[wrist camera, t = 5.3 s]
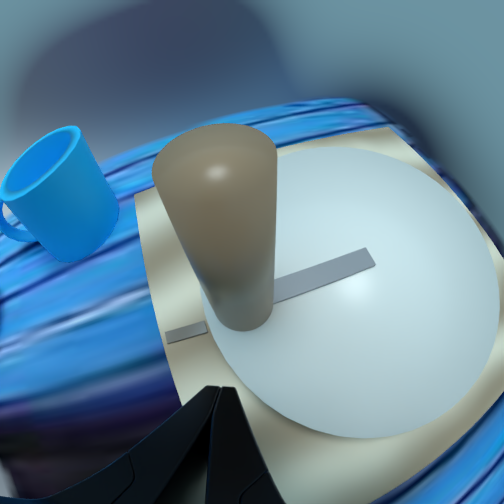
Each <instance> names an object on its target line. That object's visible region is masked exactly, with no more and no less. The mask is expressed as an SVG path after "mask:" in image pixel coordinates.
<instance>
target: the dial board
mask: <svg viewBox="0 0 504 504" xmlns="http://www.w3.org/2000/svg"><path fill="white" fill-rule="evenodd" d="M318 147H350V148H358V149H364V150H369V151H373V152H377V153H381V154H384V155H387V156H390V157H393V158H395V159H398V160H400V161H402V162H405V163H407V164H409V165H411V166H413V167H414V168H416V169H418V170H420V171H422V172H423V173H425V174H426V175H428V176H429V177H431V178H432V179H434V180H435V181H436V182H438V183H439V184H440V185H441V186H442V187H444V188H445V189H446V190H447V191H448V192H449V193H450V194H451V195H452V196H453V197H454V198H455V199H456V200H457V201H458V202H459V203H460V204H461V205H462V206H463V208H464V209H465V210H466V211H467V213H468V214H469V215H470V217H471V218H472V219H473V221H474V222H475V224H476V226H477V227H478V229H479V230H480V232H481V234H482V236H483V238H484V240H485V242H486V244H487V247H488V249H489V252H490V254H491V257H492V260H493V263H494V267H495V270H496V274H497V280H498V287H499V300H500V311H499V323H498V329H497V334H496V338H495V342H494V346H493V348H492V351H491V354H490V356H489V359H488V362H487V363H486V365H485V367H484V369H483V371H482V373H481V374H480V376H479V378H478V379H477V381H476V382H475V383H474V385H473V386H472V387H471V389H470V390H469V391H468V393H467V394H466V395H465V396H464V397H463V398H462V399H461V400H460V401H459V402H458V403H457V404H456V405H454V406H453V407H452V408H451V409H450V410H448V411H447V412H446V413H444V414H443V415H441V416H440V417H438V418H437V419H435V420H434V421H432V422H430V423H428V424H425V425H423V426H421V427H419V428H417V429H414V430H412V431H408V432H405V433H401V434H397V435H393V436H388V437H378V438H352V437H341V436H336V435H332V434H328V433H324V432H320V431H317V430H313V429H311V428H308V427H306V426H304V425H302V424H300V423H297V422H295V421H293V420H291V419H289V418H287V417H285V416H283V415H282V414H280V413H279V412H277V411H276V410H274V409H273V408H271V407H270V406H268V405H267V404H265V403H264V402H263V401H262V400H261V399H260V398H259V397H257V396H256V395H255V394H254V393H253V392H252V391H251V390H250V389H249V388H248V387H247V386H246V385H245V384H244V383H243V382H242V381H241V379H240V378H239V377H238V376H237V374H236V373H235V372H234V370H233V369H232V368H231V367H230V365H229V364H228V363H227V361H226V360H225V358H224V356H223V354H222V353H221V351H220V349H219V347H218V345H217V344H216V342H215V340H214V338H213V335H212V333H211V330H210V327H209V325H208V322H207V319H206V316H205V313H204V308H203V303H202V298H201V293H200V283H199V281H198V279H197V277H196V275H195V273H194V271H193V269H192V267H191V265H190V262H189V260H188V258H187V256H186V254H185V252H184V250H183V248H182V245H181V243H180V241H179V239H178V237H177V234H176V232H175V230H174V228H173V226H172V223H171V221H170V219H169V216H168V214H167V212H166V210H165V207H164V205H163V203H162V200H161V198H160V196H159V193H158V191H157V188H156V187H153V188H150V189H148V190H145V191H143V192H140V193H137V194H135V195H134V198H135V206H136V214H137V221H138V228H139V234H140V240H141V246H142V252H143V258H144V263H145V268H146V274H147V279H148V283H149V288H150V293H151V297H152V302H153V306H154V310H155V314H156V319H157V323H158V327H159V330H160V334H161V338H162V342H163V345H164V349H165V352H166V356H167V359H168V363H169V366H170V369H171V373H172V376H173V379H174V382H175V385H176V388H177V391H178V394H179V397H180V400H181V403H182V406H183V405H184V404H186V403H187V402H188V401H189V400H190V399H191V398H192V397H194V396H195V395H196V394H197V393H198V392H199V391H200V390H201V389H202V388H204V387H205V386H206V385H213V386H220V387H222V386H230V387H235V388H236V390H237V392H238V395H239V398H240V400H241V403H242V406H243V408H244V411H245V413H246V416H247V418H248V421H249V424H250V426H251V429H252V431H253V434H254V436H255V438H256V441H257V443H258V446H259V448H260V451H261V453H262V455H263V458H264V460H265V462H266V465H267V467H268V469H269V472H270V473H271V476H272V478H273V480H274V482H275V484H276V486H277V488H278V490H279V492H280V494H281V496H282V498H283V499H284V501H285V503H286V504H369V503H371V502H372V501H374V500H376V499H378V498H379V497H381V496H383V495H384V494H386V493H388V492H389V491H391V490H393V489H394V488H396V487H397V486H399V485H400V484H402V483H403V482H405V481H406V480H408V479H409V478H411V477H412V476H414V475H415V474H416V473H418V472H419V471H420V470H422V469H423V468H424V467H426V466H427V465H428V464H430V463H431V462H432V461H434V460H435V459H436V458H437V457H439V456H440V455H441V454H442V453H443V452H445V451H446V450H447V449H448V448H449V447H450V446H451V445H453V444H454V443H455V442H456V441H457V440H458V439H459V438H460V437H461V436H462V435H464V434H465V433H466V432H467V431H468V430H469V429H470V428H471V427H472V426H473V425H474V424H475V423H476V422H477V421H478V420H479V419H480V418H481V416H482V415H483V414H484V413H485V412H486V411H487V410H488V409H489V408H490V407H491V405H492V404H493V403H494V402H495V401H496V400H497V399H498V397H499V396H500V395H501V394H502V393H503V391H504V259H503V258H502V256H501V255H500V253H499V252H498V250H497V248H496V247H495V245H494V244H493V243H492V241H491V240H490V238H489V237H488V235H487V234H486V232H485V231H484V230H483V228H482V227H481V226H480V224H479V223H478V222H477V220H476V219H475V218H474V216H473V215H472V214H471V212H470V211H469V210H468V209H467V207H466V206H465V205H464V204H463V203H462V201H461V200H460V199H459V198H458V197H457V195H456V194H455V193H454V192H453V191H452V190H451V188H450V187H449V186H448V185H447V184H446V183H445V182H444V181H443V180H442V178H441V177H440V176H439V175H438V174H437V173H436V172H435V171H434V170H433V169H432V168H431V167H430V166H429V165H428V164H427V163H426V162H425V161H424V160H423V159H422V158H421V157H420V156H419V155H418V154H417V153H416V152H415V151H414V150H413V149H412V148H411V147H410V146H409V145H408V144H407V143H406V142H404V141H403V140H402V139H401V138H400V137H399V136H398V135H397V134H396V133H394V132H393V131H392V130H391V129H390V128H389V127H385V128H378V129H372V130H366V131H360V132H354V133H348V134H343V135H337V136H332V137H327V138H322V139H318V140H313V141H308V142H304V143H299V144H295V145H291V146H287V147H283V148H279V149H276V150H277V156H278V157H281V156H283V155H286V154H289V153H292V152H296V151H300V150H305V149H311V148H318Z"/></svg>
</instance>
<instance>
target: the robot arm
mask: <svg viewBox="0 0 504 504" xmlns="http://www.w3.org/2000/svg"><path fill="white" fill-rule="evenodd" d="M128 452H129V453H128ZM128 452H126V453H125V454H123V455H122V456H121V457H120V458H118V459H117V460H115V461H114V462H113V463H111V464H110V465H108V466H107V467H105V468H104V469H102V470H101V471H99V472H97V473H96V474H94V475H92V476H90V477H89V478H87V479H85V480H83V481H81V482H79V483H77V484H75V485H73V486H71V487H69V488H67V489H65V490H63V491H61V492H58V493H56V494H54V495H51V496H49V497H45V498H40V499H19V498H10V497H3V496H0V504H286V503H285V501H284V499H283V498H282V496H281V494H280V492H279V490H278V488H277V486H276V484H275V482H274V480H273V478H272V476H271V473H270V472H269V469H268V467H267V465H266V462H265V460H264V458H263V455H262V453H261V451H260V448H259V446H258V443H257V441H256V438H255V436H254V434H253V431H252V429H251V426H250V424H249V421H248V418H247V416H246V413H245V411H244V408H243V406H242V403H241V400H240V398H239V395H238V392H237V390H236V388H235V387H230V386H222V387H220V386H213V385H206V386H205V387H204V388H202V389H201V390H200V391H199V392H198V393H197V394H196V395H195V396H194V397H192V398H191V399H190V400H189V401H188V402H187V403H186V404H184V405H183V406H182V407H181V408H180V409H179V410H178V411H176V412H175V413H174V414H173V415H172V416H171V417H169V418H168V419H167V420H166V421H165V422H163V423H162V424H161V425H160V426H159V427H157V428H156V429H155V430H154V431H153V432H151V433H150V434H149V435H148V436H146V437H145V438H144V439H143V440H141V441H140V442H139V443H138V444H136V445H135V446H134V447H133V448H131V449H130V450H129V451H128Z"/></svg>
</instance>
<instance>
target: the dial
mask: <svg viewBox="0 0 504 504" xmlns="http://www.w3.org/2000/svg"><path fill="white" fill-rule="evenodd" d="M152 178H153V181H154V184H155V186H156V188H157V191H158V193H159V196H160V198H161V200H162V203H163V205H164V207H165V210H166V212H167V214H168V216H169V219H170V221H171V223H172V226H173V228H174V230H175V232H176V234H177V237H178V239H179V241H180V243H181V245H182V248H183V250H184V252H185V254H186V256H187V258H188V260H189V262H190V265H191V267H192V269H193V271H194V273H195V275H196V277H197V279H198V281H199V283H200V293H201V298H202V303H203V308H204V313H205V316H206V319H207V322H208V325H209V327H210V330H211V333H212V335H213V338H214V340H215V342H216V344H217V345H218V347H219V349H220V351H221V353H222V354H223V356H224V358H225V360H226V361H227V363H228V364H229V365H230V367H231V368H232V369H233V370H234V372H235V373H236V374H237V376H238V377H239V378H240V379H241V381H242V382H243V383H244V384H245V385H246V386H247V387H248V388H249V389H250V390H251V391H252V392H253V393H254V394H255V395H256V396H257V397H259V398H260V399H261V400H262V401H263V402H264V403H265V404H267V405H268V406H270V407H271V408H273V409H274V410H276V411H277V412H279V413H280V414H282V415H283V416H285V417H287V418H289V419H291V420H293V421H295V422H297V423H300V424H302V425H304V426H306V427H308V428H311V429H313V430H317V431H320V432H324V433H328V434H332V435H336V436H341V437H352V438H378V437H388V436H393V435H397V434H401V433H405V432H408V431H412V430H414V429H417V428H419V427H421V426H423V425H425V424H428V423H430V422H432V421H434V420H435V419H437V418H438V417H440V416H441V415H443V414H444V413H446V412H447V411H448V410H450V409H451V408H452V407H453V406H454V405H456V404H457V403H458V402H459V401H460V400H461V399H462V398H463V397H464V396H465V395H466V394H467V393H468V391H469V390H470V389H471V387H472V386H473V385H474V383H475V382H476V381H477V379H478V378H479V376H480V374H481V373H482V371H483V369H484V367H485V365H486V363H487V362H488V359H489V356H490V354H491V351H492V348H493V346H494V342H495V338H496V334H497V329H498V323H499V311H500V300H499V287H498V280H497V274H496V270H495V267H494V263H493V260H492V257H491V254H490V252H489V249H488V247H487V244H486V242H485V240H484V238H483V236H482V234H481V232H480V230H479V229H478V227H477V226H476V224H475V222H474V221H473V219H472V218H471V217H470V215H469V214H468V213H467V211H466V210H465V209H464V208H463V206H462V205H461V204H460V203H459V202H458V201H457V200H456V199H455V198H454V197H453V196H452V195H451V194H450V193H449V192H448V191H447V190H446V189H445V188H444V187H442V186H441V185H440V184H439V183H438V182H436V181H435V180H434V179H432V178H431V177H429V176H428V175H426V174H425V173H423V172H422V171H420V170H418V169H416V168H414V167H413V166H411V165H409V164H407V163H405V162H402V161H400V160H398V159H395V158H393V157H390V156H387V155H384V154H381V153H377V152H373V151H369V150H364V149H358V148H350V147H318V148H311V149H305V150H300V151H296V152H292V153H289V154H286V155H283V156H281V157H278V156H277V150H276V147H275V145H274V143H273V141H272V140H271V139H270V138H269V137H268V136H267V135H266V134H264V133H263V132H261V131H259V130H257V129H255V128H252V127H249V126H245V125H240V124H230V123H222V124H212V125H207V126H202V127H199V128H195V129H193V130H190V131H188V132H185V133H183V134H181V135H180V136H178V137H176V138H175V139H173V140H172V141H170V142H169V143H168V144H167V145H166V146H165V147H164V148H163V149H162V150H161V151H160V152H159V154H158V155H157V157H156V159H155V161H154V163H153V167H152Z"/></svg>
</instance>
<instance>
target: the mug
mask: <svg viewBox="0 0 504 504" xmlns="http://www.w3.org/2000/svg"><path fill="white" fill-rule="evenodd" d="M3 203H5V204H6V205H7V207H8V208H9V209H10V210H11V211H12V213H13V214H14V215H15V216H16V217H17V218H18V220H19V221H20V222H21V223H22V224H23V225H24V226H25V227H26V229H27V230H28V231H24V230H20V229H17V228H14V227H13V226H11V225H10V224H9V223H8V222H7V221H6V220H5V218H4V216H3V212H2V207H3ZM118 214H119V205H118V201H117V199H116V197H115V195H114V193H113V192H112V190H111V188H110V186H109V184H108V183H107V181H106V179H105V177H104V175H103V173H102V172H101V170H100V168H99V166H98V164H97V162H96V160H95V158H94V156H93V154H92V152H91V151H90V149H89V147H88V144H87V143H86V140H85V138H84V136H83V134H82V132H81V130H80V129H79V128H78V127H77V126H67V127H63V128H59V129H57V130H55V131H53V132H51V133H48V134H47V135H45V136H44V137H42V138H41V139H39V140H38V141H36V142H35V143H34V144H33V145H31V146H30V147H29V148H28V149H27V150H25V151H24V153H23V154H22V155H21V156H20V157H19V158H18V159H17V160H16V161H15V162H14V164H13V165H12V166H11V168H10V169H9V170H8V172H7V174H6V176H5V177H4V179H3V181H2V184H1V188H0V231H1V232H2V233H3V234H5V235H6V236H7V237H9V238H11V239H14V240H16V241H21V242H36V241H39V243H40V244H41V245H42V246H43V247H44V248H45V249H46V250H47V251H48V252H49V253H50V254H51V255H52V256H53V257H55V258H56V259H57V260H59V261H61V262H67V263H70V262H74V261H79V260H81V259H83V258H85V257H87V256H88V255H90V254H92V253H93V252H94V251H95V250H97V249H98V248H99V247H100V246H101V245H102V244H103V243H104V242H105V241H106V239H107V238H108V237H109V235H110V234H111V233H112V231H113V229H114V227H115V224H116V222H117V220H118Z"/></svg>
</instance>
